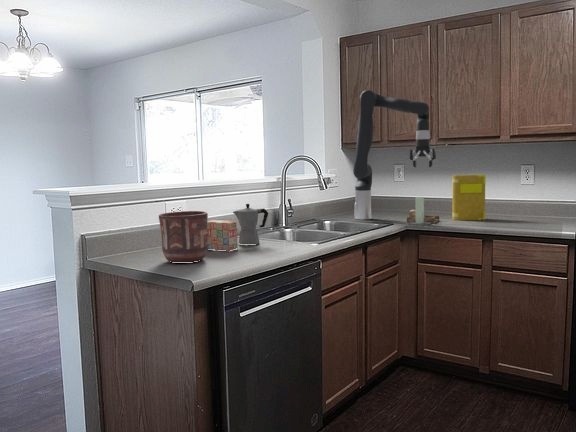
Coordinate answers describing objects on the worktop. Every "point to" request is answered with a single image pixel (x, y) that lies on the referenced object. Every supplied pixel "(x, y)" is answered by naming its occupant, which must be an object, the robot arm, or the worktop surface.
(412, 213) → the offcut top
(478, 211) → the book
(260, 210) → the coffeepot
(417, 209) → the slat
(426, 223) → the mat
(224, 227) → the stack of blocks
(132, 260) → the worktop surface
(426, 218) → the rack
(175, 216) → the pottery
